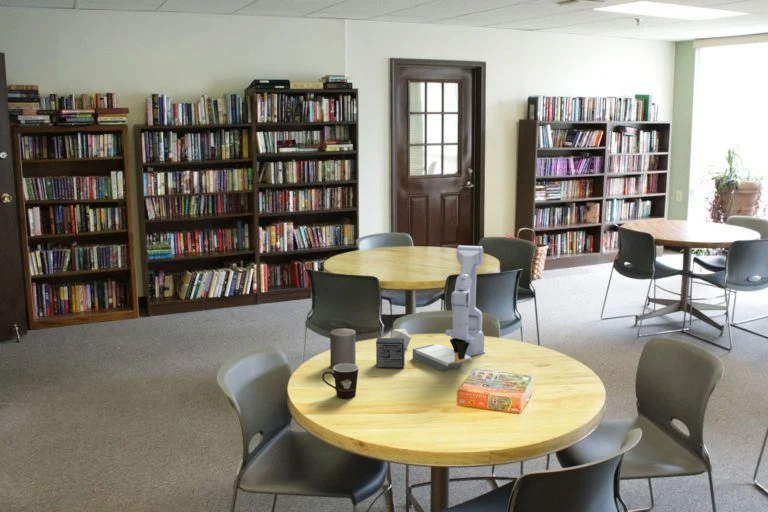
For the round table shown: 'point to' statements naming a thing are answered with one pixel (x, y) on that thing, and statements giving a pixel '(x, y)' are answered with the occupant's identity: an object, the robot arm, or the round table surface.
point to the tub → (434, 363)
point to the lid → (441, 354)
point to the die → (401, 336)
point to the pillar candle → (342, 347)
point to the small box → (390, 353)
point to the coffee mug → (344, 380)
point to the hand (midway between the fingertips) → (459, 358)
